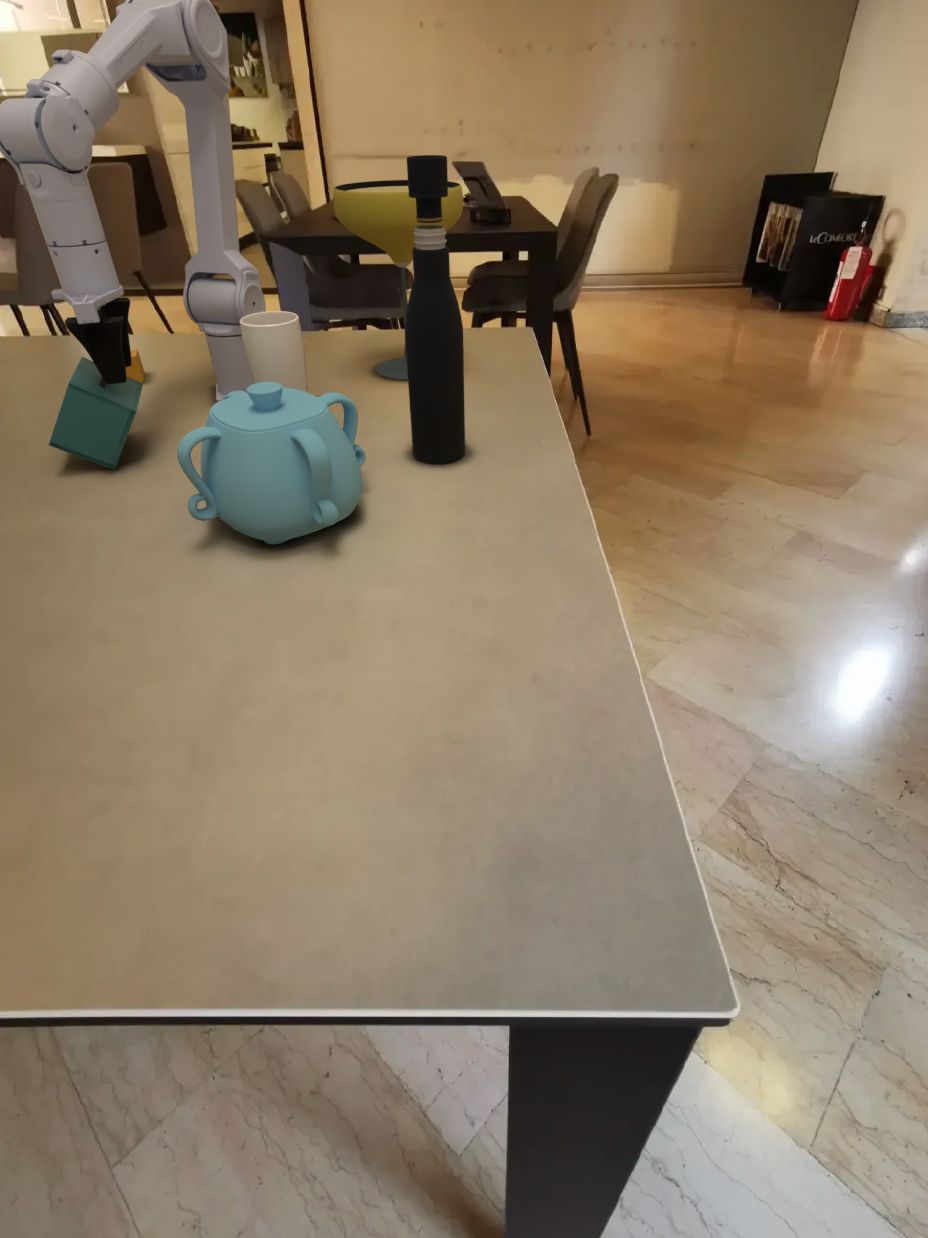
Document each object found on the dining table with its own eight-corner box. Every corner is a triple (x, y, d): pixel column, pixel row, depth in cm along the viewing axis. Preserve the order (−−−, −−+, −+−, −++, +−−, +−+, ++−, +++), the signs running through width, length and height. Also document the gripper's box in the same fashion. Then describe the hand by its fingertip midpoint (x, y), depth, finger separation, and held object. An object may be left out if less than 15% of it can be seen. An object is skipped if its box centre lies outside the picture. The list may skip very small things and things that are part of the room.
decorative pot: (178, 548, 65) (133, 412, 57) (252, 475, 78) (224, 355, 69) (334, 564, 62) (312, 424, 54) (386, 486, 75) (373, 362, 66)
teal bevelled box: (153, 356, 83) (91, 327, 79) (148, 381, 75) (79, 350, 71) (122, 438, 87) (62, 414, 83) (114, 470, 80) (48, 445, 76)
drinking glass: (253, 448, 84) (225, 321, 75) (288, 429, 89) (266, 308, 79) (295, 458, 81) (272, 328, 72) (329, 438, 86) (311, 314, 77)
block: (145, 374, 108) (137, 349, 105) (143, 382, 105) (135, 356, 102) (119, 377, 107) (110, 351, 104) (116, 385, 104) (107, 359, 101)
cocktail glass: (339, 362, 111) (316, 184, 96) (438, 347, 117) (432, 177, 102) (374, 395, 98) (355, 195, 83) (484, 377, 104) (485, 187, 89)
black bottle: (459, 466, 79) (452, 158, 60) (407, 462, 80) (384, 158, 61) (469, 444, 84) (466, 153, 65) (420, 441, 85) (403, 154, 66)
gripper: (48, 234, 75) (91, 359, 83) (19, 256, 64) (72, 398, 72) (115, 231, 76) (151, 354, 84) (99, 252, 65) (142, 391, 73)
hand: (119, 374), depth 78 cm, fingers closed on teal bevelled box, 5 cm apart
